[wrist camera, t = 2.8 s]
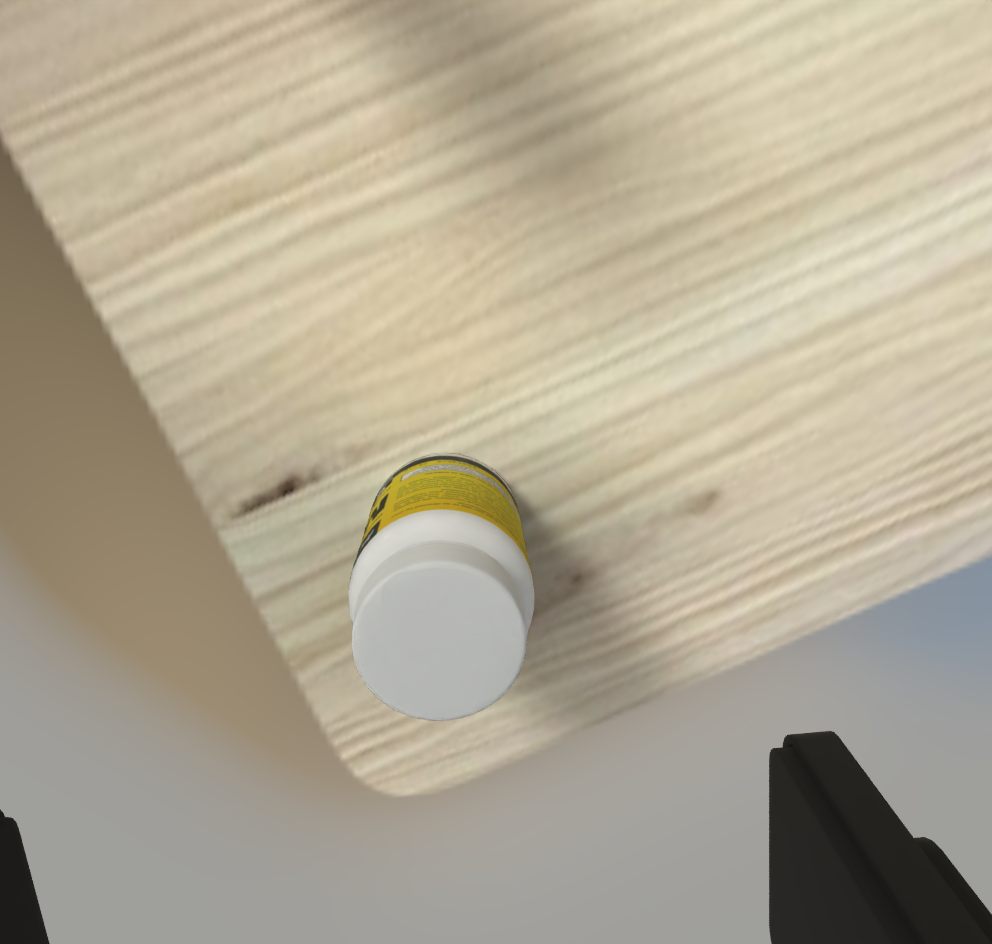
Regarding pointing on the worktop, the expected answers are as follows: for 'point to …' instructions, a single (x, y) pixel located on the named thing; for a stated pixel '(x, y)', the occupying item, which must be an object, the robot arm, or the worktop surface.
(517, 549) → the supplement bottle
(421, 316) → the worktop surface
